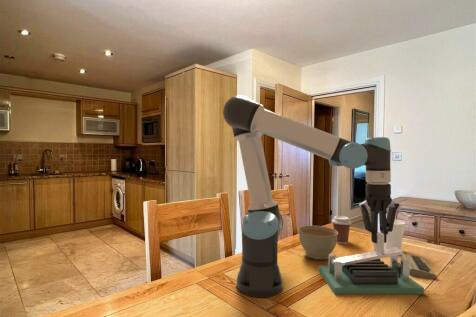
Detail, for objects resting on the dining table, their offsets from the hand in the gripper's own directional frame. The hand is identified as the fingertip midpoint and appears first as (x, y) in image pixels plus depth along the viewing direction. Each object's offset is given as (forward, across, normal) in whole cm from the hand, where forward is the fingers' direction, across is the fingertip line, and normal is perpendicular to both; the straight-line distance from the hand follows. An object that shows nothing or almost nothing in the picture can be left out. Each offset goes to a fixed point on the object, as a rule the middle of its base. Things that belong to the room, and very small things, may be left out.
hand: (379, 251), depth 92 cm
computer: (+12, +20, +11) cm, 26 cm away
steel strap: (+2, -4, 0) cm, 5 cm away
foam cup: (+11, +22, +30) cm, 39 cm away
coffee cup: (+11, +3, +41) cm, 43 cm away
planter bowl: (+10, -14, +23) cm, 29 cm away
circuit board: (+10, -4, 0) cm, 11 cm away
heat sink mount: (+10, -4, 0) cm, 11 cm away
